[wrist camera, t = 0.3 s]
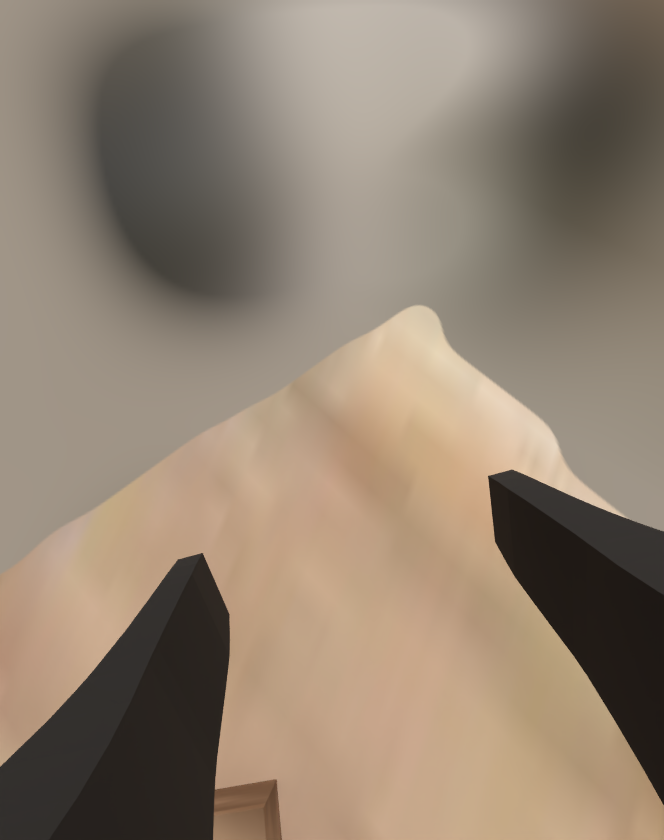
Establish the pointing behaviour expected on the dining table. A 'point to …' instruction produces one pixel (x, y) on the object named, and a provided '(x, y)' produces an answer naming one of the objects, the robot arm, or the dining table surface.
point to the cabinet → (247, 812)
